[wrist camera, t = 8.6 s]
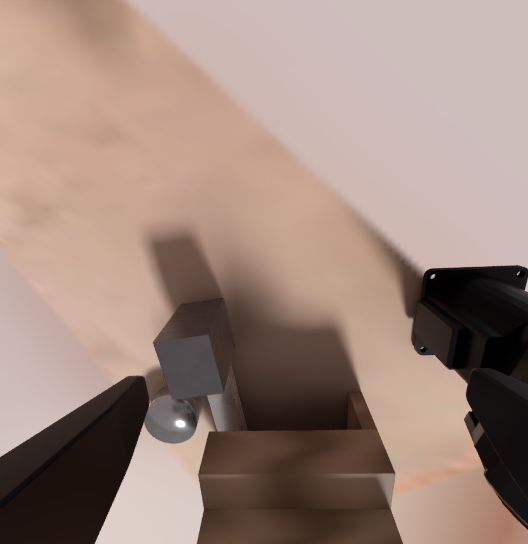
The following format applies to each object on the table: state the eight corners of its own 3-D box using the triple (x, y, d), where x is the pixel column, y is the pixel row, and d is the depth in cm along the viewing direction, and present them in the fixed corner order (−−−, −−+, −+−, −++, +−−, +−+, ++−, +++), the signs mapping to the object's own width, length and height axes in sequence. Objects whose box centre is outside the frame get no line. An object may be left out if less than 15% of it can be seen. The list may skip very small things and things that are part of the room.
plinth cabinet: (361, 392, 22) (421, 536, 13) (357, 448, 24) (407, 608, 15) (218, 394, 23) (182, 535, 14) (225, 450, 25) (197, 605, 16)
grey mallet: (223, 298, 20) (208, 334, 15) (254, 431, 24) (250, 493, 19) (180, 304, 20) (153, 342, 16) (218, 435, 24) (205, 497, 19)
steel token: (197, 382, 23) (190, 400, 21) (206, 421, 24) (200, 441, 22) (149, 386, 23) (138, 404, 21) (160, 424, 24) (151, 444, 22)
